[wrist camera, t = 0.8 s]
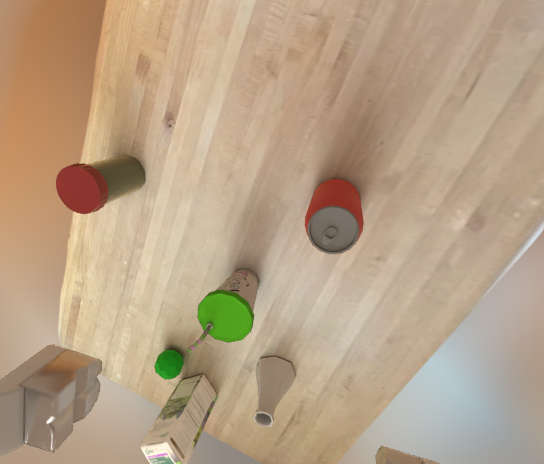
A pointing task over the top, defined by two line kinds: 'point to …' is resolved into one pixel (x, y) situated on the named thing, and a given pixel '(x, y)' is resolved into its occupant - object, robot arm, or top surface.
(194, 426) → the syrup box
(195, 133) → the top surface
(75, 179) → the lid
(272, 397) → the flask
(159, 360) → the polyhedron
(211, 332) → the cup
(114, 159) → the jar
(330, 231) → the beer can
